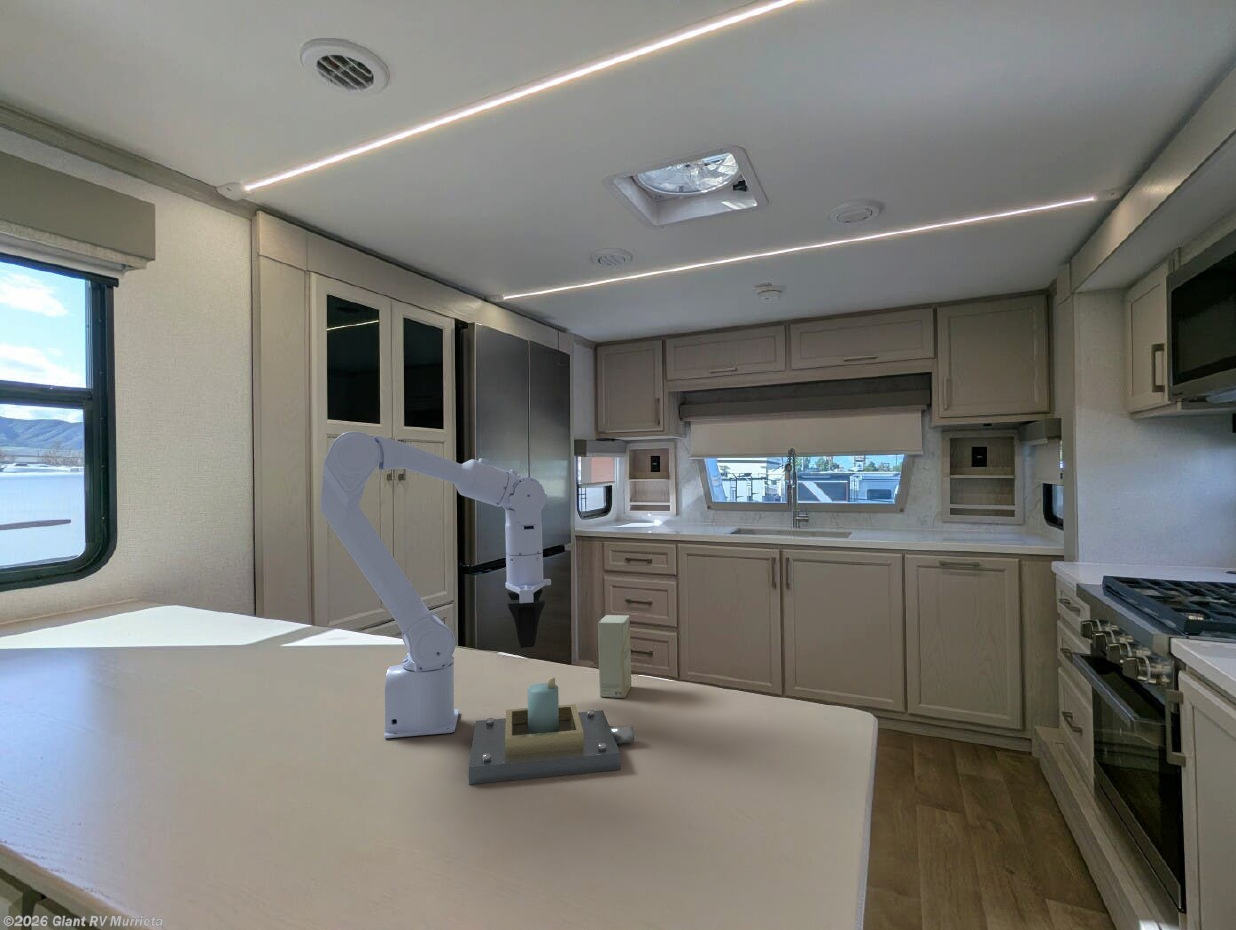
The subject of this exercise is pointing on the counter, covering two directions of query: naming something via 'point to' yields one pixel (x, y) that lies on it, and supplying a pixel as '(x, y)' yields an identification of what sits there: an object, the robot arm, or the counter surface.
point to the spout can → (543, 707)
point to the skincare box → (614, 656)
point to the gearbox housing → (545, 746)
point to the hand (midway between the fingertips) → (526, 640)
